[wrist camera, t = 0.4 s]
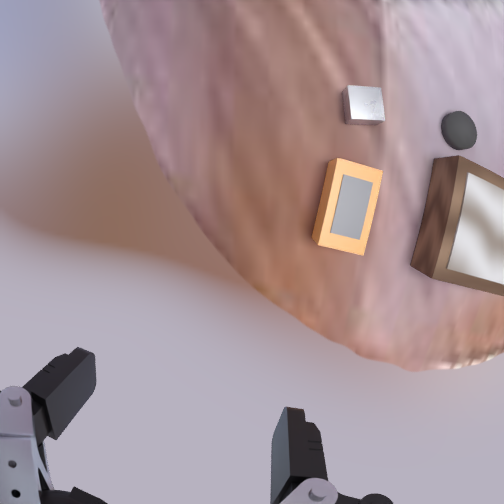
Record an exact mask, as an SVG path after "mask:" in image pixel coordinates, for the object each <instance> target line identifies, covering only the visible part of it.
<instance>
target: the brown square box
mask: <svg viewBox="0 0 504 504" xmlns="http://www.w3.org/2000/svg"><path fill="white" fill-rule="evenodd" d="M410 266H412V267H414V268H415V269H417V270H419V271H420V272H422V273H424V274H425V275H427V276H429V277H430V278H432V279H436V280H440V281H444V282H448V283H452V284H457V285H461V286H465V287H469V288H473V289H477V290H481V291H485V292H489V293H493V294H497V295H501V296H504V178H503V177H501V176H499V175H497V174H495V173H494V172H492V171H490V170H488V169H486V168H484V167H482V166H480V165H478V164H476V163H474V162H472V161H470V160H468V159H466V158H464V157H462V156H459V155H458V156H451V157H444V158H437V159H434V162H433V169H432V174H431V180H430V186H429V191H428V196H427V201H426V205H425V210H424V215H423V219H422V223H421V227H420V231H419V235H418V239H417V243H416V247H415V251H414V254H413V258H412V261H411V265H410Z"/></svg>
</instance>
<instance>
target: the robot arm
mask: <svg viewBox="0 0 504 504" xmlns="http://www.w3.org/2000/svg"><path fill="white" fill-rule="evenodd" d="M95 386H96V368H95V355H94V354H93V353H92V352H89V351H87V350H84V349H82V348H79V347H77V348H76V349H74V350H73V351H72V352H71V353H70V354H69V355H67V354H63V355H60V356H57V357H55V358H54V359H53V360H52V361H51V362H49V363H48V365H46V366H45V367H44V368H43V369H42V370H40V371H39V372H38V373H37V374H36V375H35V376H34V377H33V378H32V379H31V380H30V381H28V382H27V383H26V384H25V385H24V386H23V387H18V386H11V387H7V388H5V389H4V390H2V391H0V504H107V503H106V502H104V501H103V500H101V499H100V498H97V497H95V496H93V495H91V494H88V493H86V492H84V491H82V490H80V489H78V488H76V487H73V489H72V491H71V492H67V491H60V490H54V487H53V484H52V481H51V477H50V473H49V468H48V462H47V456H46V449H45V443H44V439H45V438H46V436H49V437H51V438H53V439H55V440H57V439H58V437H59V436H60V435H61V433H62V432H63V431H64V430H65V428H66V427H67V426H68V424H69V423H70V422H71V420H72V419H73V418H74V416H75V415H76V414H77V413H78V411H79V410H80V409H81V408H82V406H83V405H84V404H85V402H86V401H87V400H88V399H89V397H90V396H91V395H92V394H93V392H94V390H95ZM321 442H322V440H321V434H320V431H319V430H318V428H317V427H316V425H315V424H314V423H310V422H306V421H305V413H304V410H303V409H298V408H291V407H285V408H284V409H283V412H282V414H281V417H280V419H279V422H278V424H277V426H276V429H275V432H274V435H273V439H272V454H271V459H272V460H271V502H270V503H271V504H393V502H392V501H391V500H390V499H389V498H388V497H386V496H384V495H381V494H369V495H366V496H365V497H364V498H362V499H361V500H360V499H356V498H352V497H348V496H345V495H342V494H340V493H338V492H337V490H336V488H335V487H334V486H333V485H332V484H331V483H330V482H328V478H327V471H326V465H325V459H324V452H323V446H322V444H321Z"/></svg>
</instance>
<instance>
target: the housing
mask: <svg viewBox="0 0 504 504" xmlns="http://www.w3.org/2000/svg"><path fill="white" fill-rule="evenodd" d="M382 173H383V171H381V170H378V169H375V168H371V167H368V166H365V165H361V164H358V163H354V162H351V161H347V160H344V159H340V158H336V159H334V160H332V161H330V162H328V167H327V172H326V176H325V181H324V186H323V190H322V195H321V199H320V204H319V208H318V212H317V217H316V221H315V225H314V229H313V234H312V239H313V240H314V241H315V242H316V243H317V244H318V245H320V246H325V247H329V248H333V249H338V250H342V251H346V252H351V253H355V254H359V255H364V251H365V247H366V243H367V239H368V236H369V232H370V228H371V223H372V219H373V215H374V211H375V206H376V202H377V198H378V193H379V188H380V183H381V178H382Z"/></svg>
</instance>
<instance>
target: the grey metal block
mask: <svg viewBox="0 0 504 504" xmlns="http://www.w3.org/2000/svg"><path fill="white" fill-rule="evenodd" d="M342 96H343V105H344V115H345V124H361V125H378V124H380V123H382V122H384V121H385V115H384V107H383V99H382V92H381V88H377V87H365V86H350V85H348V86H347V87H346V88H345V89H344V91H343V92H342Z"/></svg>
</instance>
